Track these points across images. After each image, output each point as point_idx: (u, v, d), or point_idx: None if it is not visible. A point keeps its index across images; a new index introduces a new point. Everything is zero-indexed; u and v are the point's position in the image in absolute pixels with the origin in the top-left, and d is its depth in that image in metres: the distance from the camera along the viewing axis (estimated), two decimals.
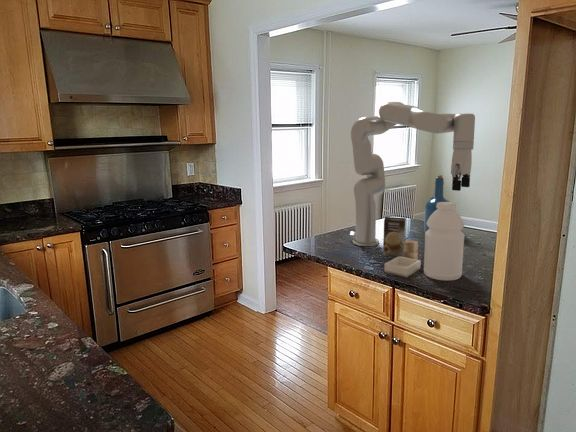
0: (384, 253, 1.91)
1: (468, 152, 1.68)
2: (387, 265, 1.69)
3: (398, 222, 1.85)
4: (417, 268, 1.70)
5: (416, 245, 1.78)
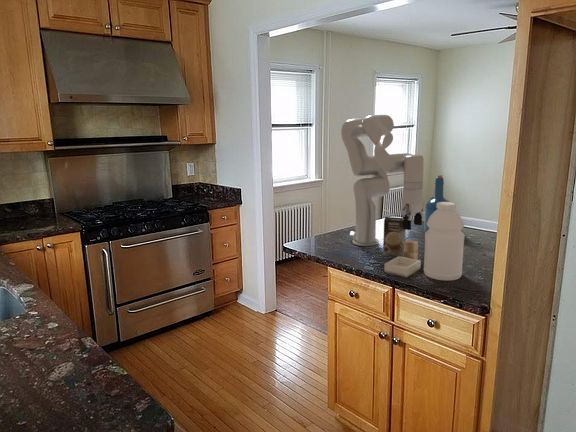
0: (384, 253, 1.91)
1: (418, 192, 1.72)
2: (387, 265, 1.69)
3: (398, 222, 1.85)
4: (417, 268, 1.70)
5: (416, 245, 1.78)
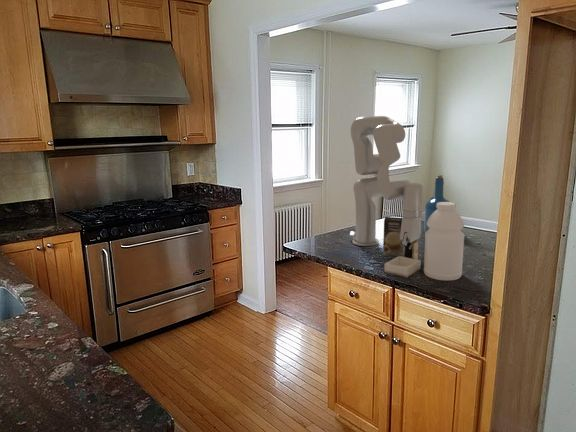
0: (384, 253, 1.91)
1: (416, 220, 1.74)
2: (387, 265, 1.69)
3: (398, 222, 1.85)
4: (417, 268, 1.70)
5: (416, 245, 1.78)
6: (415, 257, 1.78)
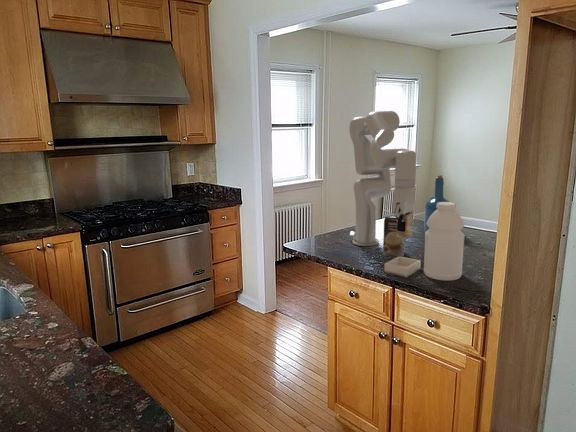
0: (384, 253, 1.91)
1: (410, 190, 1.62)
2: (387, 265, 1.69)
3: None
4: (417, 268, 1.70)
5: (410, 217, 1.65)
6: (409, 230, 1.66)
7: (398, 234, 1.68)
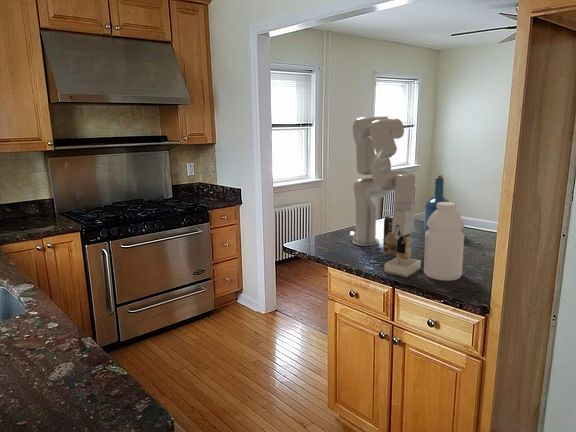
0: (384, 253, 1.91)
1: (409, 213, 1.64)
2: (387, 265, 1.69)
3: None
4: (417, 268, 1.70)
5: (409, 239, 1.67)
6: (408, 252, 1.68)
7: (398, 255, 1.69)
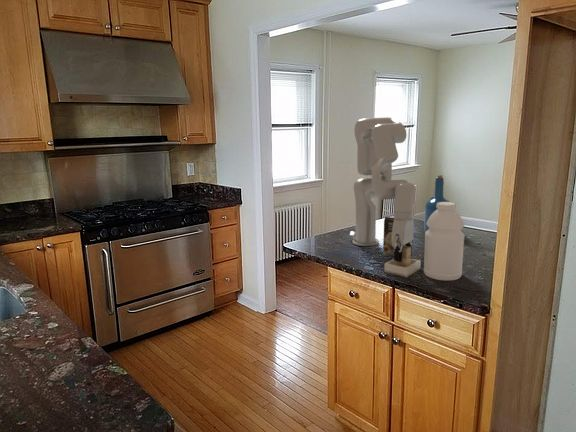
0: (384, 253, 1.91)
1: (409, 222, 1.65)
2: (387, 265, 1.69)
3: None
4: (417, 268, 1.70)
5: (409, 251, 1.68)
6: (408, 263, 1.69)
7: None
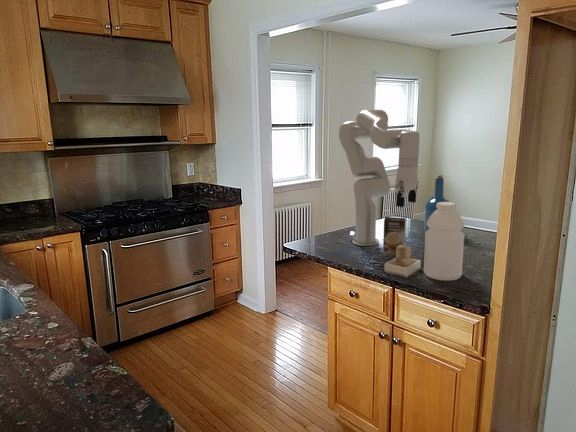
0: (384, 253, 1.91)
1: (412, 169, 1.70)
2: (387, 265, 1.69)
3: (398, 222, 1.85)
4: (417, 268, 1.70)
5: (409, 251, 1.68)
6: (408, 263, 1.69)
7: None
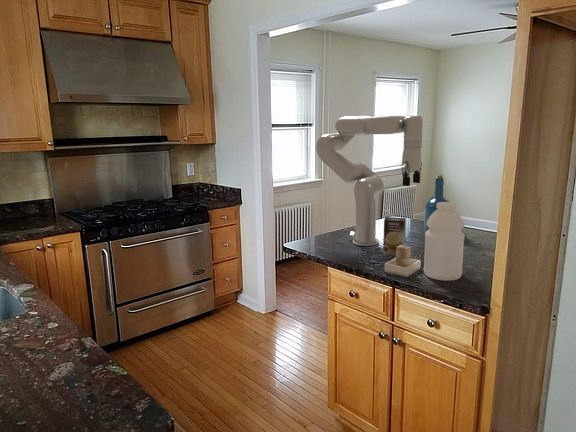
0: (384, 253, 1.91)
1: (417, 151, 1.85)
2: (387, 265, 1.69)
3: (398, 222, 1.85)
4: (417, 268, 1.70)
5: (409, 251, 1.68)
6: (408, 263, 1.69)
7: None
